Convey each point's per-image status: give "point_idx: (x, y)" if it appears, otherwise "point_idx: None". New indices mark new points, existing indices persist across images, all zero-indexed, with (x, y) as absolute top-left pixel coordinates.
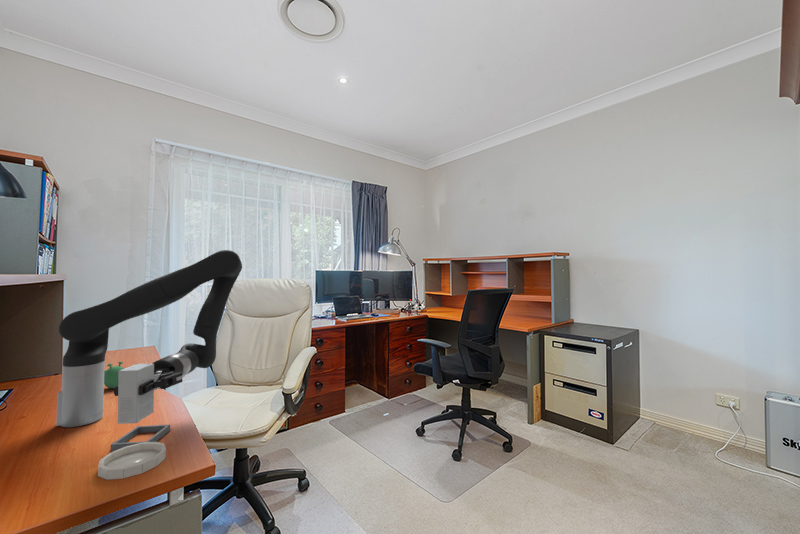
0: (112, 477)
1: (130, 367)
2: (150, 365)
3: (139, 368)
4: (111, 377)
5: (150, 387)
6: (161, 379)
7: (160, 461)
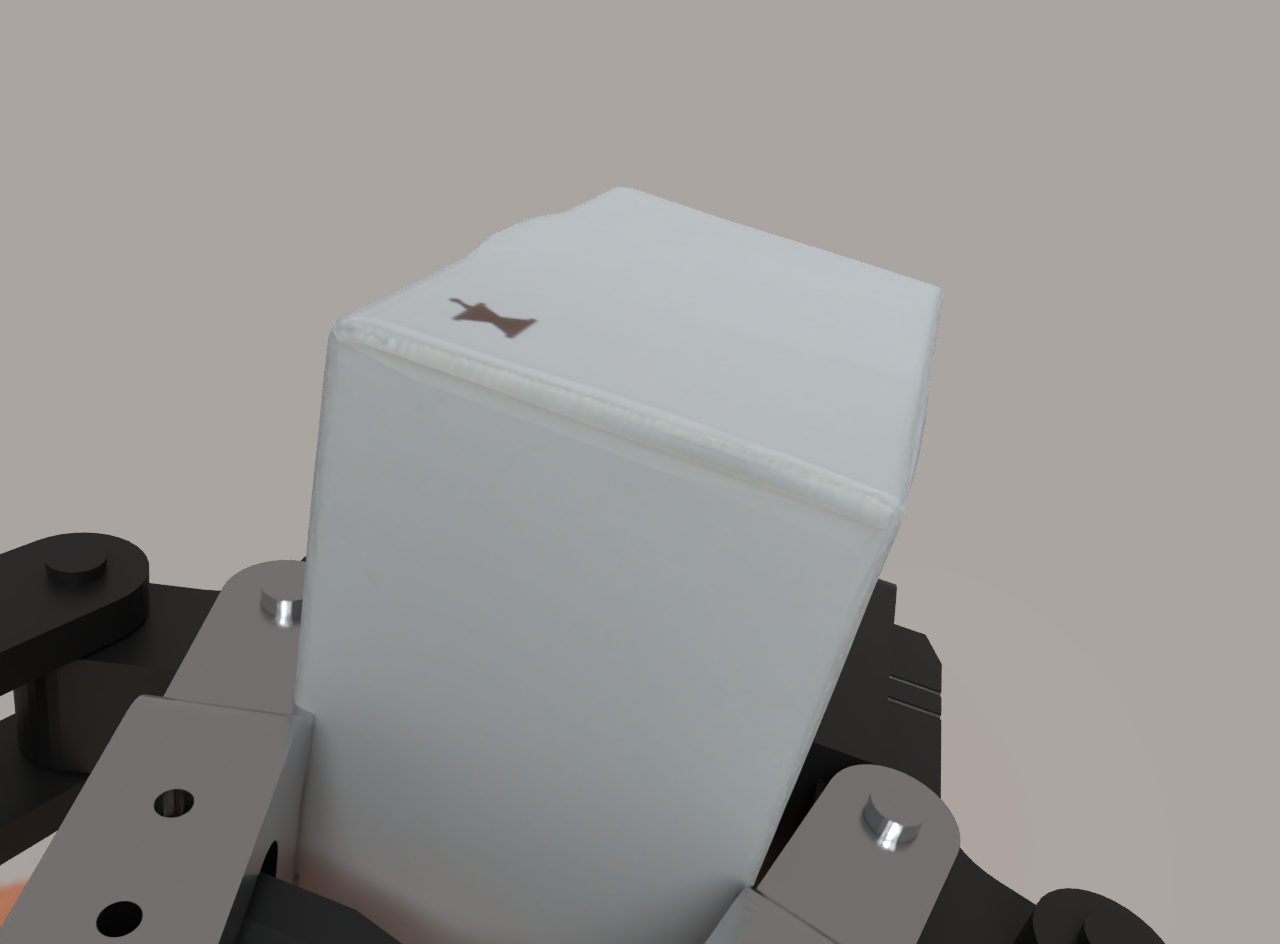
0: None
1: (836, 315)
2: (421, 281)
3: (607, 210)
4: None
5: None
6: (144, 559)
7: None
